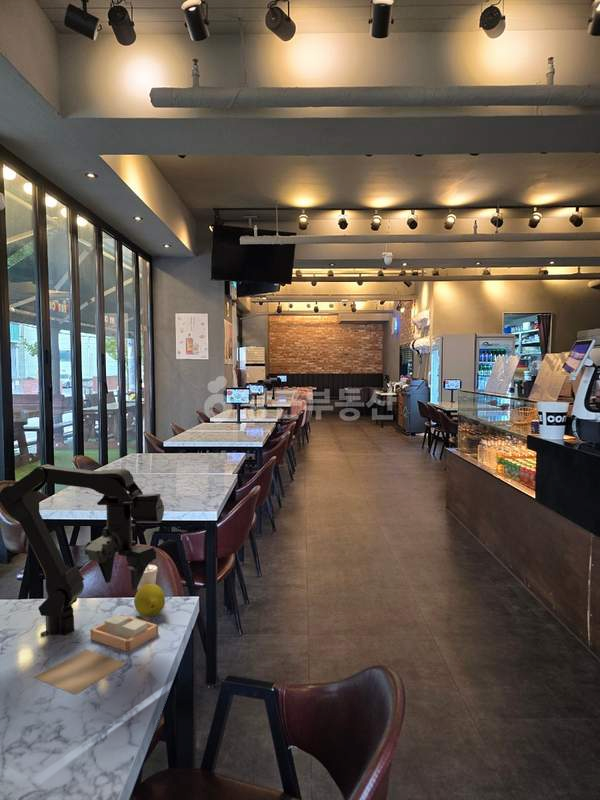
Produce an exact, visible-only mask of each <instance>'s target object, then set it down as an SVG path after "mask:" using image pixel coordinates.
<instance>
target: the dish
mask: <svg viewBox="0 0 600 800" xmlns="http://www.w3.org/2000/svg"><path fill="white" fill-rule="evenodd" d="M120 615H122V616H125V617H129V622H131V621H133V620H138V621H142V622H145V623H147V630H145V631H143V632H141V633H139V634H138V635H136V636H134V637H132V638H130V639H129V640H127V639H124V638H122V637H118V636H115V635H111V634H108V633H105V622H103V623H102V624H99V625H97V626H95V627H93V628H91V629H90V631H89V632H90V640H93V641H95V642H98V643H101V644H105V645H107V646H109V647H112V648H113V647H114V648H116V649H119V650H123V651H125V652H130V651H132V650H134V649H135V648H137V647H139V646H140V645H142V644H143V643H146V642H147V641H149V640H151V639H153V638H154V637H156V636H158V635H159V624H157V623H156V624H155V623H152V622H150V621H149V622H148V621H146V620H142V619H139V618H136V617H132V616H129V615H125V614H120Z"/></svg>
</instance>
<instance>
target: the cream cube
mask: <svg viewBox="0 0 600 800" xmlns="http://www.w3.org/2000/svg"><path fill="white" fill-rule="evenodd" d="M145 630H147V623H145V622H142V621H138V620H133V621H131V622H129V623H127V624H125V625H123V626H122V637H121V638H124V639H127V640H129V639H130V638H132V637H134V636H136V635H138V634H139V633H141V632H143V631H145Z"/></svg>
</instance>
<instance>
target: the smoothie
mask: <svg viewBox="0 0 600 800" xmlns="http://www.w3.org/2000/svg"><path fill="white" fill-rule="evenodd" d="M158 572H159V571H158V566H157V565H155V564H150V563H149V564H148V566H147V568H146V569H145V571H144V574H143V576H142V578H141V580H140V583H139V585H138V587H137V589H136V590H137V591H138V590H139V589H140V588H141V587H142V586H144V585H146V584H155V585H156V581H157V573H158Z"/></svg>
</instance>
